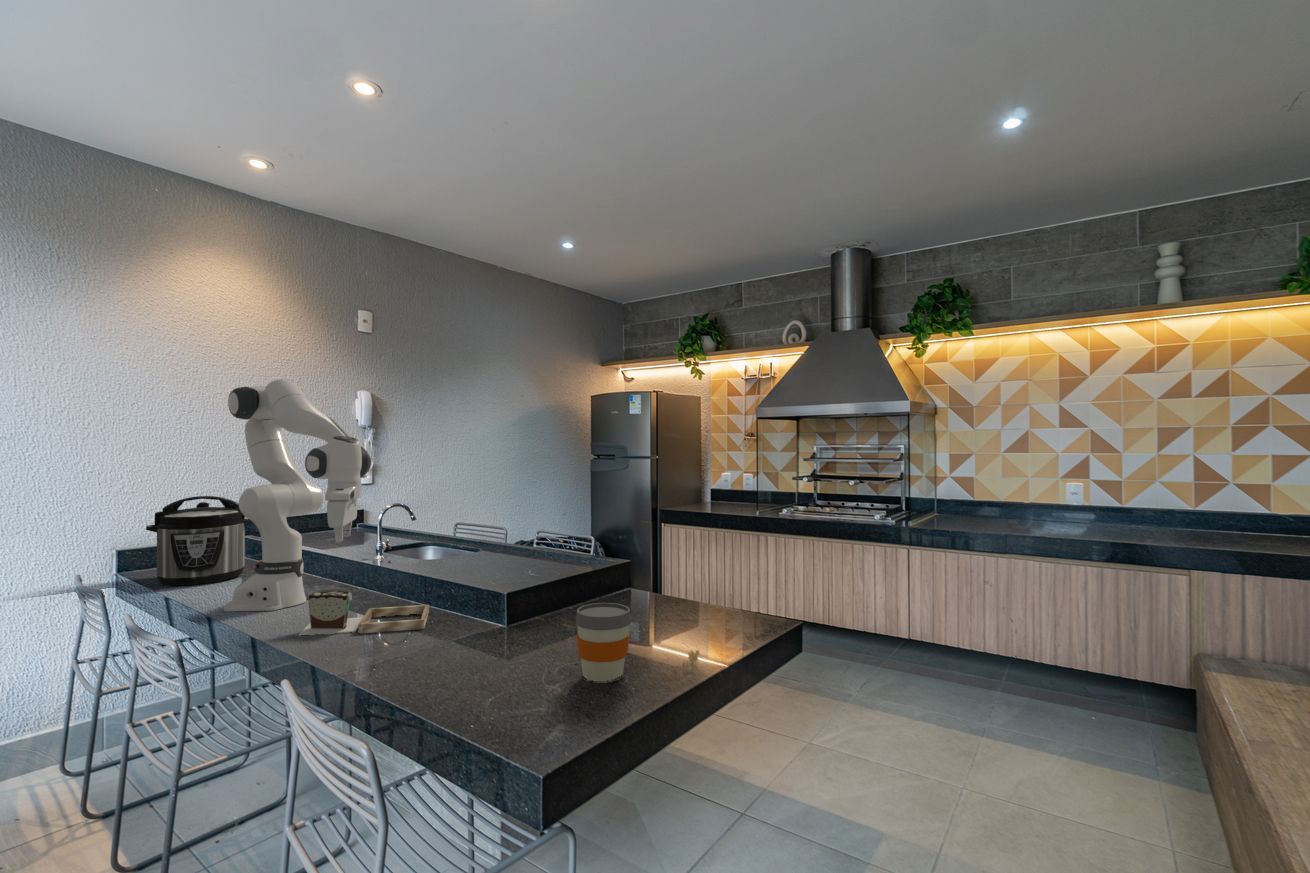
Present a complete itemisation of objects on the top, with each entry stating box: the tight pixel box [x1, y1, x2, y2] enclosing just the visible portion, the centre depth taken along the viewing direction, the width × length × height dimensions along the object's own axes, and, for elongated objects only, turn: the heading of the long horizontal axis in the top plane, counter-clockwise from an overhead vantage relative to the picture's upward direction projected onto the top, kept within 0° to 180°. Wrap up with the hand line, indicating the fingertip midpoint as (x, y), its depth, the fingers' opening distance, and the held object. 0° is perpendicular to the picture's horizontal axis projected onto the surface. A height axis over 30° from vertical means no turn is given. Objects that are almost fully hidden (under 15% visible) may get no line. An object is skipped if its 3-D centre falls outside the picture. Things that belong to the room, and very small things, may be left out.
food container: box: [306, 588, 353, 629], centre depth 172 cm, size 12×6×10 cm, turn 89°
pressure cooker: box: [145, 495, 254, 586], centre depth 231 cm, size 30×28×32 cm
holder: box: [357, 604, 430, 634], centre depth 177 cm, size 17×17×2 cm
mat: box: [298, 616, 364, 637], centre depth 172 cm, size 14×14×1 cm
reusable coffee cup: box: [575, 602, 632, 681], centre depth 137 cm, size 13×12×15 cm
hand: (342, 539), depth 177 cm, fingers open, 8 cm apart
